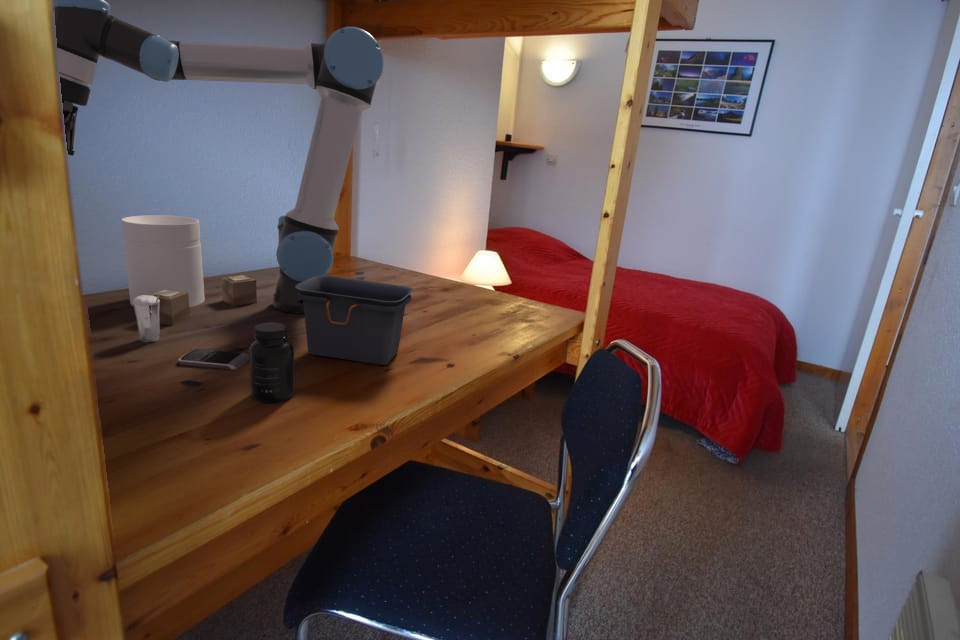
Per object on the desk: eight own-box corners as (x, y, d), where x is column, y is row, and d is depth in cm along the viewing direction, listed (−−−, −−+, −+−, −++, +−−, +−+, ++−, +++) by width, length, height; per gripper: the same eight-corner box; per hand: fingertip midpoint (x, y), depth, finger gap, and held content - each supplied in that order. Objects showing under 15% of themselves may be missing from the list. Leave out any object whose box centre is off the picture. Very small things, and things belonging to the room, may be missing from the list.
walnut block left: (190, 318, 122) (188, 291, 120) (173, 325, 116) (170, 297, 114) (165, 315, 122) (162, 288, 121) (147, 322, 117) (144, 294, 115)
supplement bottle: (258, 385, 92) (255, 319, 88) (299, 387, 93) (298, 321, 89) (244, 403, 85) (241, 332, 82) (288, 405, 86) (287, 334, 82)
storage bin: (414, 350, 115) (417, 285, 110) (392, 377, 100) (395, 304, 96) (319, 337, 117) (319, 273, 113) (285, 362, 102) (283, 290, 98)
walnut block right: (256, 302, 138) (256, 279, 136) (233, 306, 133) (232, 281, 131) (245, 297, 141) (244, 274, 139) (222, 300, 137) (221, 276, 135)
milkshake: (154, 345, 104) (149, 296, 102) (131, 341, 105) (125, 292, 102) (172, 338, 109) (167, 291, 106) (149, 334, 110) (144, 287, 107)
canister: (116, 300, 130) (107, 217, 124) (181, 289, 143) (175, 214, 137) (153, 314, 122) (144, 226, 116) (218, 302, 135) (213, 222, 129)
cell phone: (194, 354, 103) (193, 348, 103) (251, 360, 103) (250, 353, 103) (175, 366, 97) (175, 359, 97) (236, 372, 97) (235, 365, 97)
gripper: (62, 73, 108) (39, 174, 111) (15, 60, 86) (-12, 186, 90) (106, 90, 111) (81, 187, 115) (71, 82, 89) (43, 202, 93)
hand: (40, 187), depth 102 cm, fingers open, 13 cm apart
